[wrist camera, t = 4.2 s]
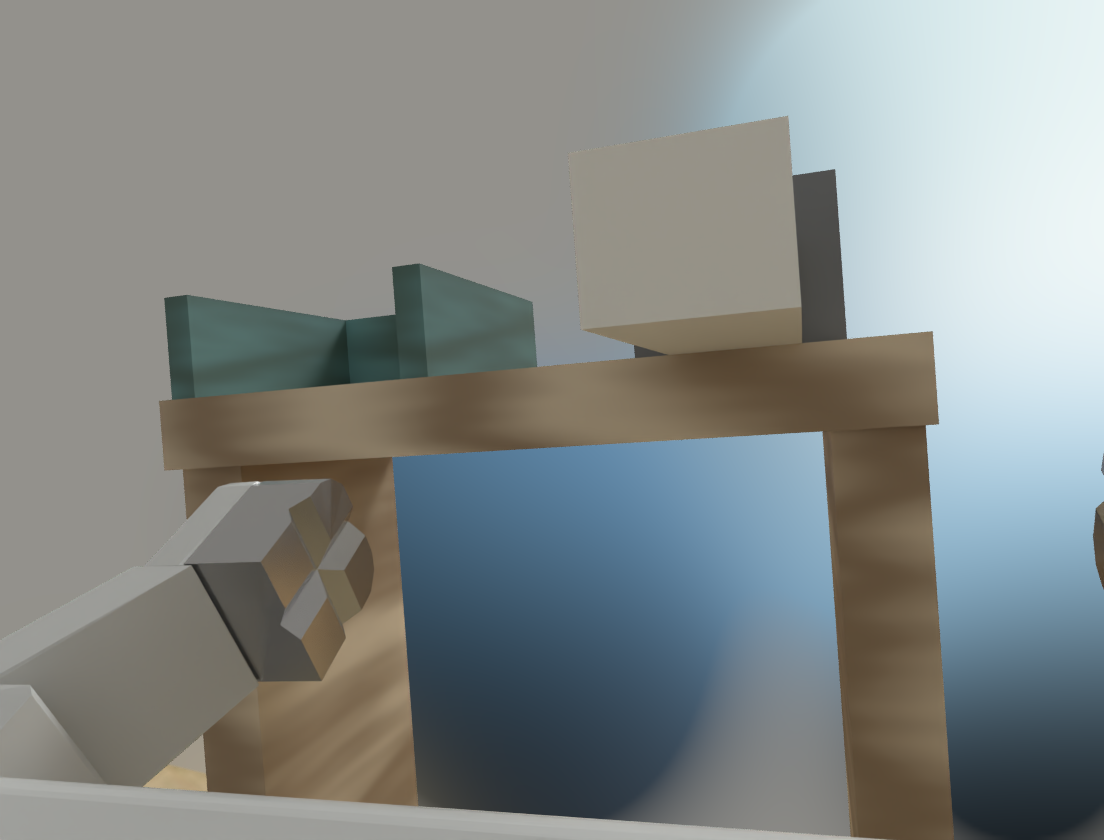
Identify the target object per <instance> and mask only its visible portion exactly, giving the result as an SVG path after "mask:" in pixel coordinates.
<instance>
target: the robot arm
mask: <svg viewBox="0 0 1104 840" xmlns="http://www.w3.org/2000/svg"><path fill="white" fill-rule="evenodd" d="M1101 471H1102V473H1103V475H1104V456H1103V462H1102V468H1101ZM352 509H353V505H352V503H351V501H350V499H349V496H348V494H347V492H346V490H345V488H344V486H343V485H342V484H341V483H339V482H337V481H335V480H333V479H309V480H282V481H263V482H258V481H254V482H240V483H230V484H226V485H223V486H219V487H217V488H216V489H215V490H214V491H213V492H212V494H211V495H210V496H209V497H208V498H207V499H206V500H205V501H204V502H203V503H202V504H201V505H200V506H199V508H198V509H197V510H196V511H195V512H194V513H193V514H192V515H191V516H190V517H189V518H188V519H187V521H186V522H185V523H184V524H183V525H182V526H181V527H180V528H179V529H178V530H177V531H176V532H175V533H174V534H173V536H172V537H171V538H170V539H169V540H168V541H167V542H166V543H165V544H164V545H163V546H162V547H161V548H160V550H159V551H158V552H157V553H156V554H155V555H154V556H153V557H152V558H151V559H150V560H149V562H148V563H147V564H146V565H145V566H140V567H132V568H130V569H128V570H127V571H125V572H123V573H121V574H119V575H117V576H116V577H114V578H112V579H111V580H108V581H107V582H105V583H103V584H101V585H99V586H97V587H96V588H94V589H92V590H90V591H88V592H87V593H85V594H83V595H81V596H79V597H77V598H76V599H74V600H72V601H70V602H69V603H67V604H65V605H63V606H61V607H59V608H58V609H56V610H54V611H52V612H50V613H48V614H47V615H45V616H43V617H41V618H39V619H37V620H36V621H34V622H32V623H31V624H28V625H26V626H25V627H23V628H21V629H19V630H17V631H16V632H14V633H12V634H10V635H8V636H7V637H5V638H3V639H1V640H0V840H887V839H873V838H859V837H844V836H831V835H816V834H802V833H788V832H774V831H760V830H745V829H731V828H717V827H703V826H689V825H675V824H674V825H673V824H661V823H647V822H631V821H618V820H603V819H589V818H574V817H561V816H546V815H533V814H519V813H503V812H490V811H476V810H462V809H447V808H433V807H419V806H405V805H391V804H377V803H362V802H348V801H334V800H320V799H305V798H291V797H277V796H263V795H249V794H234V793H220V792H206V791H192V790H177V789H163V788H149V787H143V786H144V785H145V784H146V783H147V782H149V781H150V780H151V779H152V778H153V777H154V776H155V775H157V774H158V773H159V772H160V771H161V770H162V769H163V768H165V767H166V766H167V765H168V764H169V763H170V762H171V761H173V760H174V759H175V758H176V757H177V756H178V755H179V754H181V753H182V752H183V751H184V750H185V749H186V748H188V747H189V746H190V745H191V744H192V743H193V742H194V741H196V740H197V739H198V738H199V737H200V736H201V735H202V734H204V733H205V732H206V731H207V730H208V729H209V728H211V727H212V726H213V725H214V724H215V723H216V722H217V721H219V720H220V719H221V718H222V717H223V716H224V715H225V714H227V713H228V712H229V711H230V710H231V709H232V708H234V707H235V706H236V705H237V704H238V703H239V702H240V701H242V700H243V699H244V698H245V697H246V696H247V695H248V694H250V693H251V692H252V691H253V690H254V689H255V688H256V687H258V686H259V683H258V682H280V681H322V680H323V678H324V676H325V674H326V673H327V671H328V669H329V667H330V666H331V664H332V662H333V660H334V659H335V657H336V655H337V653H338V651H339V650H340V648H341V646H342V644H343V643H344V641H345V639H346V636H345V632H344V628H343V623H345V622H346V621H347V620H349V619H350V618H352V617H353V616H354V615H356V614H357V613H358V612H360V611H361V610H362V608H363V606H364V605H365V603H366V601H367V599H368V597H369V595H370V593H371V588H372V582H373V575H374V563H373V557H372V551H371V548H370V546H369V543H368V541H367V538H366V536H365V535H364V534H363V533H362V532H361V531H359V530H358V529H357V528H356V527H355V526H353V525H352V524H351V523H350V522H349V521H348V520H349V518H350V515H351V512H352ZM1093 540H1094V550H1095V561H1096V566H1097V570H1098V573H1099V577H1100V580H1101V583H1102V586H1103V589H1104V502H1102V503H1101V504H1100V505H1099V506H1098V507H1097V508H1096V513H1095V523H1094V533H1093Z"/></svg>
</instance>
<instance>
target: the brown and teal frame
mask: <svg viewBox="0 0 1104 840" xmlns="http://www.w3.org/2000/svg"><path fill="white" fill-rule="evenodd" d="M392 272H393V286H394V299H395V313H396V315H389V316H381V317H371V318H363V319H355V320H339V319H333V318H327V317H321V316H314V315H308V314H302V313H296V312H289V311H284V310H277V309H271V308H265V307H258V306H252V305H246V304H240V303H234V302H227V301H221V300H215V299H209V298H203V297H196V296H190V295H183V296H176V297H169V298H164V300H165V312H166V323H167V324H166V326H167V339H168V352H169V365H170V377H171V390H172V400H166V401H159V405H160V416H161V417H160V418H161V431H162V443H163V456H164V468H165V469H164V470H180V469H183V477H184V490H185V503H186V516H187V519H188V518H189V517H190V516H191V515H192V514H193V513H194V512H195V511H196V510H197V509H198V508H199V506H200V505H201V504H202V503H203V502H204V501H205V500H206V499H207V498H208V497H209V496H210V495H211V494H212V492H213V491H214V490H215V489H216V488H217V487H219V486H223V485H226V484H230V483H240V482H254V481H258V482H263V481H282V480H309V479H333V480H335V481H337V482H339V483H341V484H342V485H343V486H344V488H345V490H346V492H347V494H348V496H349V499H350V501H351V503H352V505H353V509H352V512H351V515H350V518H349V520H348V521H349V522H350V523H351V524H352V525H353V526H355V527H356V528H357V529H358V530H359V531H361V532H362V533H363V534H364V535H365V536H366V538H367V541H368V543H369V546H370V548H371V551H372V557H373V563H374V575H373V582H372V588H371V593H370V595H369V597H368V599H367V601H366V603H365V605H364V606H363V608H362V610H361V611H360V612H358V613H357V614H356V615H354V616H353V617H352V618H350V619H349V620H347V621H346V622H345V623H343V628H344V632H345V636H346V639H345V641H344V643H343V644H342V646H341V648H340V650H339V651H338V653H337V655H336V657H335V659H334V660H333V662H332V664H331V666H330V667H329V669H328V671H327V673H326V674H325V676H324V678H323V680H322V681H280V682H258V683H259V686H258V687H256V688H255V689H254V690H253V691H252V692H251V693H250V694H248V695H247V696H246V697H245V698H244V699H243V700H242V701H240V702H239V703H238V704H237V705H236V706H235V707H234V708H232V709H231V710H230V711H229V712H228V713H227V714H225V715H224V716H223V717H222V718H221V719H220V720H219V721H217V722H216V723H215V724H214V725H213V726H212V727H211V728H209V729H208V730H207V731H206V732H205V733H204V734H203V738H204V750H205V763H206V777H207V790H208V792H220V793H234V794H249V795H263V796H277V797H291V798H305V799H320V800H334V801H348V802H362V803H377V804H391V805H405V806H418V798H417V786H416V772H415V760H414V745H413V731H412V719H411V704H410V692H409V678H408V665H407V651H406V639H405V638H406V637H405V624H404V611H403V599H402V598H403V597H402V584H401V570H400V557H399V544H398V530H397V518H396V517H397V516H396V503H395V491H394V490H395V489H394V476H393V463H392V457H399V456H415V455H431V454H448V453H466V452H482V451H497V450H515V449H533V448H547V447H549V448H550V447H566V446H582V445H598V444H599V445H600V444H616V443H633V442H650V441H667V440H683V439H700V438H717V437H733V436H751V435H768V434H783V433H784V434H785V433H801V432H817V431H823V444H824V459H825V473H826V487H827V501H828V515H829V529H830V545H831V558H832V573H833V587H834V602H835V617H836V631H837V645H838V659H839V673H840V688H841V703H842V716H843V731H844V746H845V760H846V773H847V788H848V803H849V818H850V832H851V837H859V838H873V839H887V840H954V835H953V819H952V805H951V790H950V775H949V763H948V762H949V761H948V747H947V732H946V717H945V702H944V688H943V673H942V659H941V644H940V629H939V615H938V601H937V586H936V571H935V556H934V542H933V527H932V514H931V513H932V512H931V501H930V500H931V498H930V483H929V469H928V454H927V439H926V425H934V424H935V425H936V424H939V419H938V404H937V390H936V375H935V360H934V345H933V332H932V331H931V332H921V333H909V334H899V335H887V336H876V337H866V338H854V339H842V340H831V341H820V342H809V343H798V344H787V345H776V346H765V347H754V348H743V349H731V350H720V351H709V352H698V353H687V354H676V355H665V356H654V357H643V358H632V359H621V360H609V361H600V362H587V363H576V364H565V365H554V366H543V367H537V360H536V345H535V332H534V318H533V304H532V302H531V301H528V300H525V299H522V298H519V297H516V296H513V295H510V294H507V293H504V292H501V291H499V290H495V289H493V288H490V287H487V286H484V285H481V284H478V283H475V282H472V281H469V280H466V279H463V278H460V277H457V276H454V275H452V274H449V273H446V272H443V271H440V270H437V269H434V268H431V267H428V266H425V265H422V264H412V265H405V266H398V267H392Z"/></svg>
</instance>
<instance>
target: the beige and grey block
mask: <svg viewBox="0 0 1104 840" xmlns="http://www.w3.org/2000/svg"><path fill="white" fill-rule="evenodd" d="M790 150H791V149H790V135H789V121H788V116H785V117H779V118H773V119H767V120H761V121H756V122H749V123H744V124H737V125H731V126H725V127H720V128H714V129H708V130H702V131H696V132H690V133H684V134H678V135H672V136H666V137H660V138H654V139H649V140H642V141H636V142H630V143H625V144H619V145H613V146H607V147H601V148H596V149H589V150H583V151H578V152H571V153H568V159H569V173H570V186H571V200H572V214H573V229H574V241H575V242H574V243H575V256H576V270H577V283H578V298H579V312H580V326H581V330H584V331H588V332H591V333H595V334H598V335H602V336H605V337H608V338H612V339H616V340H619V341H622V342H625V343H629V344H632V345H634V349H635V358H643V357H654V356H665V355H676V354H687V353H698V352H709V351H720V350H731V349H743V348H754V347H765V346H776V345H787V344H798V343H809V342H820V341H831V340H842V339H847V334H846V321H845V320H846V319H845V306H844V291H843V276H842V261H841V248H840V233H839V218H838V206H837V205H838V204H837V190H836V176H835V169H834V170H827V171H820V172H813V173H807V174H800V175H793V176H792V164H791V151H790Z"/></svg>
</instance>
